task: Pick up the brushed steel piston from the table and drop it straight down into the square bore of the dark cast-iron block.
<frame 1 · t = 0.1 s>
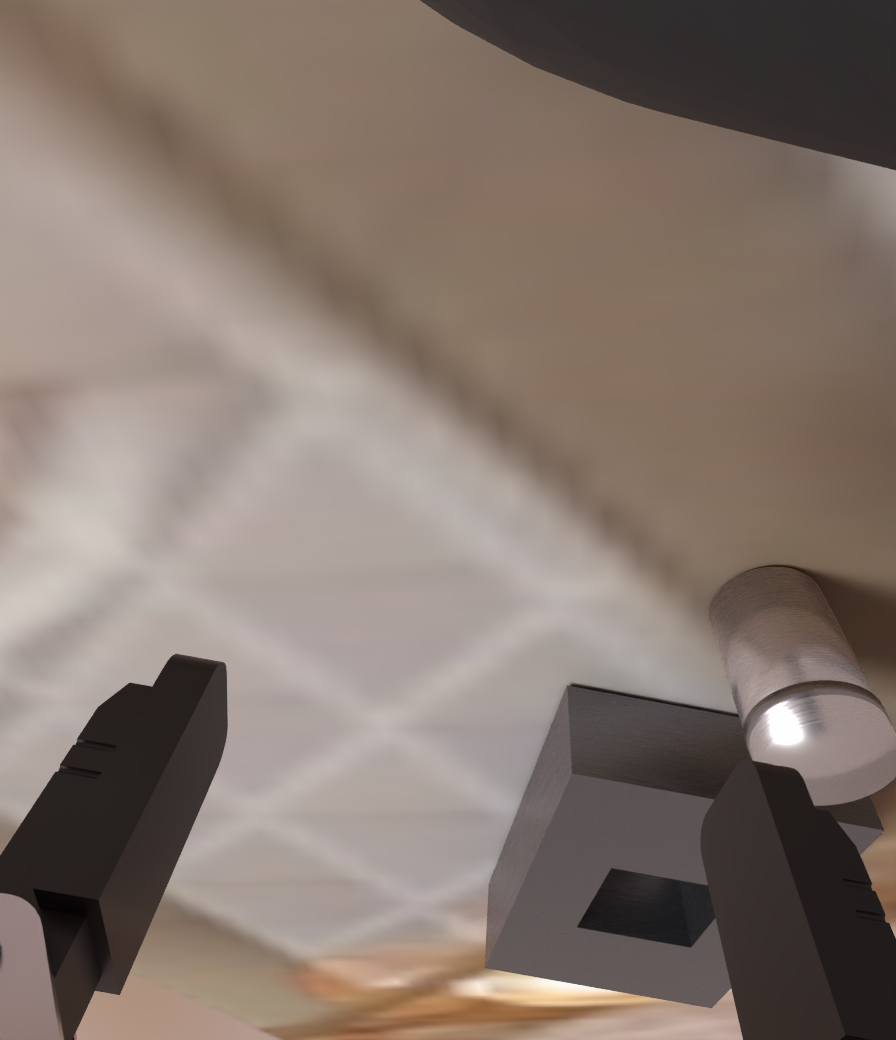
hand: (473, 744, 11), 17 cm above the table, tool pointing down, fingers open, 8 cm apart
piston: (765, 608, 31), on the table
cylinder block: (640, 821, 40), on the table
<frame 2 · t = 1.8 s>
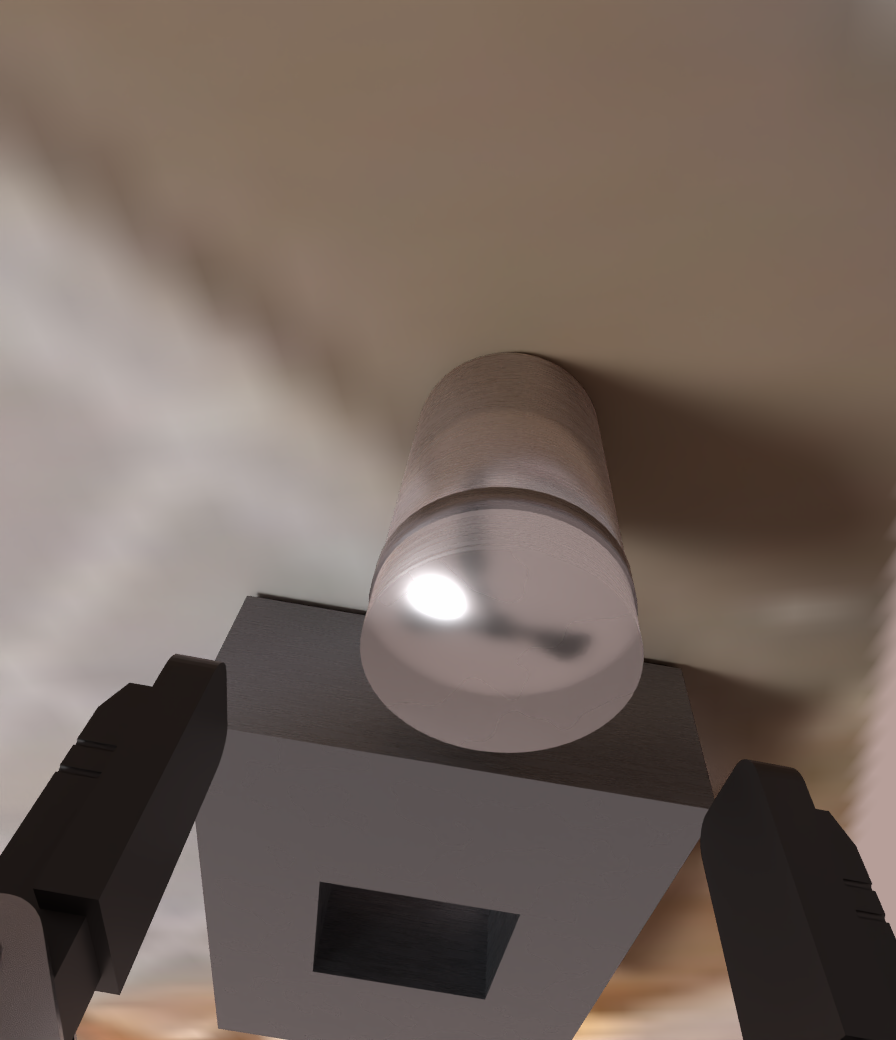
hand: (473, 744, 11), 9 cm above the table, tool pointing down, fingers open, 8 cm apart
piston: (507, 439, 18), on the table
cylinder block: (425, 812, 28), on the table
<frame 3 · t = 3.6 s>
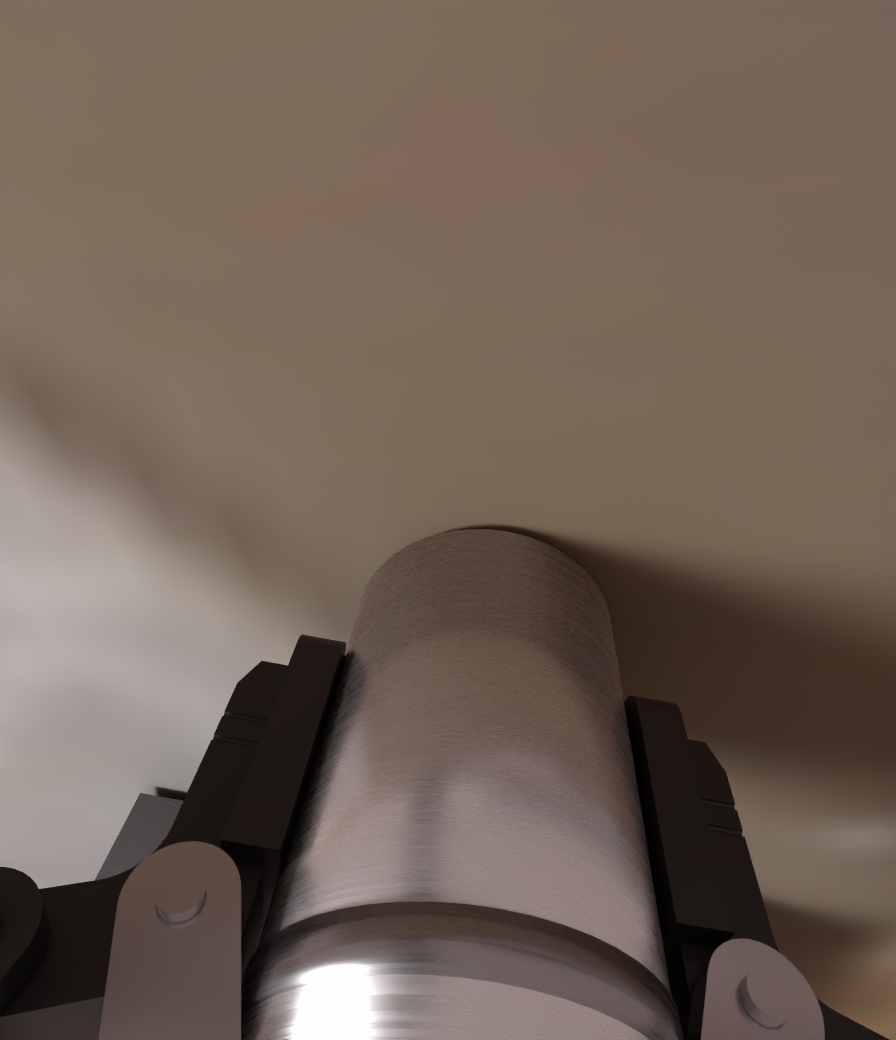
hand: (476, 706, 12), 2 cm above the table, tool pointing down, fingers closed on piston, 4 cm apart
piston: (482, 633, 13), on the table, touching gripper
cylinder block: (382, 1019, 22), on the table
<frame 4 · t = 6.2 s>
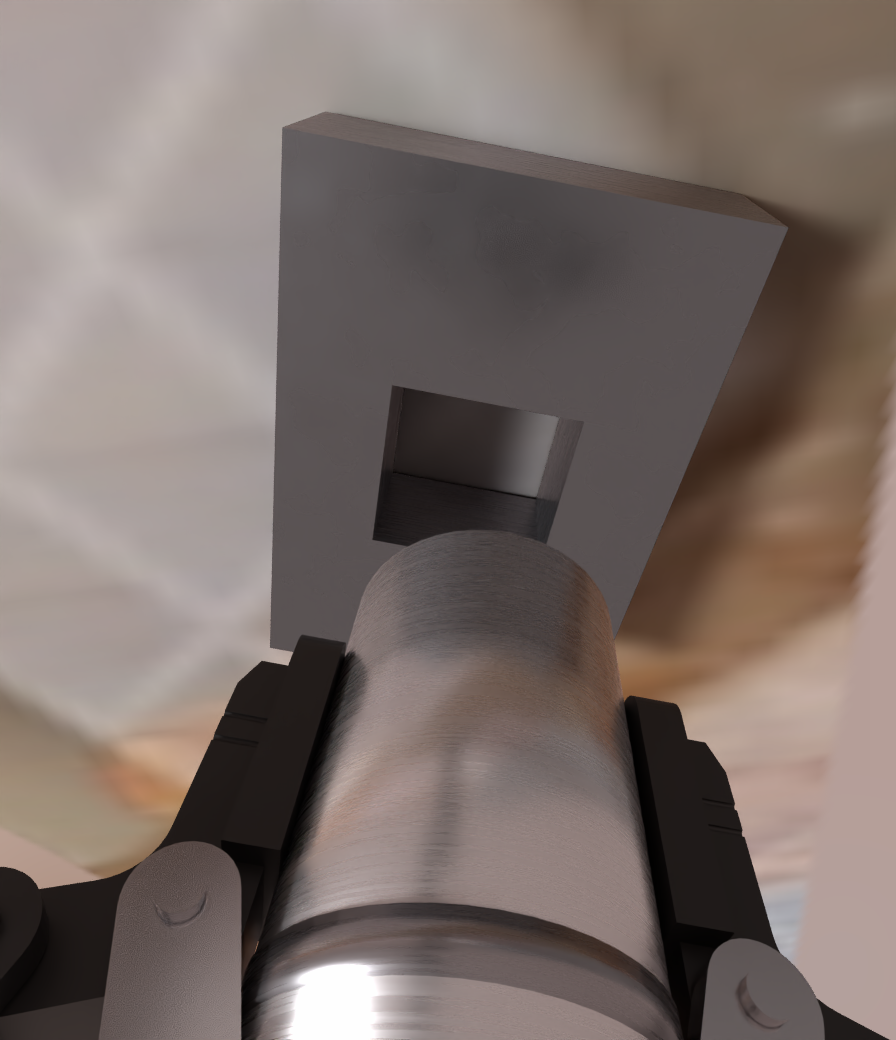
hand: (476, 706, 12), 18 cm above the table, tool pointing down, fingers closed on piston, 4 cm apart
piston: (482, 634, 13), point 16 cm above the table, touching gripper
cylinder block: (478, 421, 29), on the table
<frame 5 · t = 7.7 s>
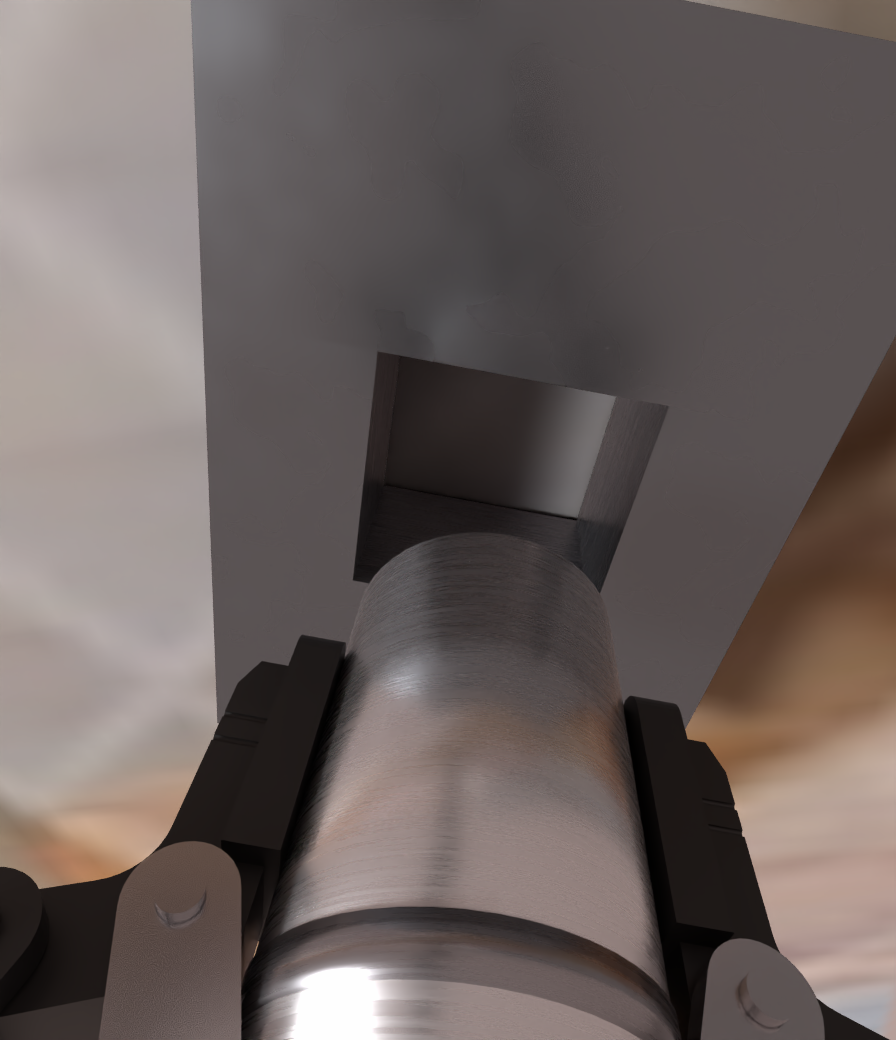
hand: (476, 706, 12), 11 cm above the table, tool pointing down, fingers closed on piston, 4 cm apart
piston: (482, 636, 13), point 10 cm above the table, touching gripper
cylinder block: (500, 414, 21), on the table
when the fingers open (8 cm above the table, at t = 9.1 s): piston drops 7 cm, resting in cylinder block.
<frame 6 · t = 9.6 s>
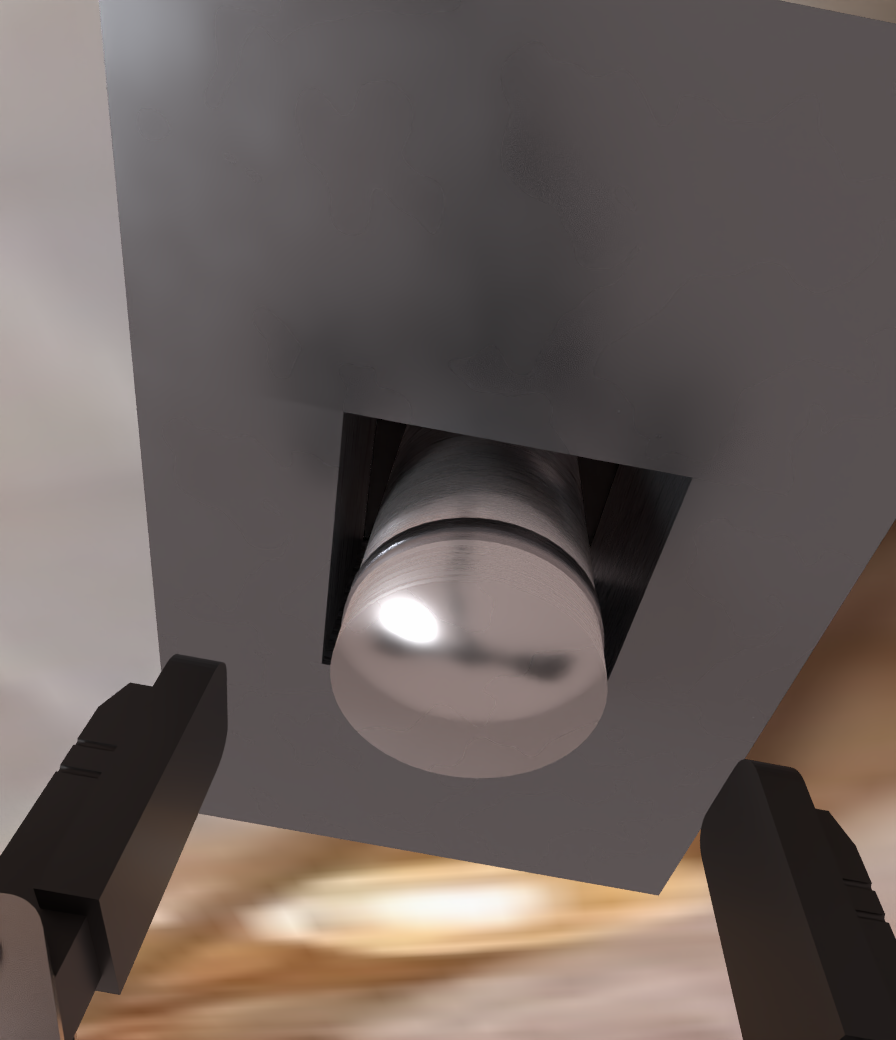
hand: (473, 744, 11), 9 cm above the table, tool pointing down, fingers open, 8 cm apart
piston: (487, 464, 19), resting in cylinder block
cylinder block: (493, 465, 18), on the table
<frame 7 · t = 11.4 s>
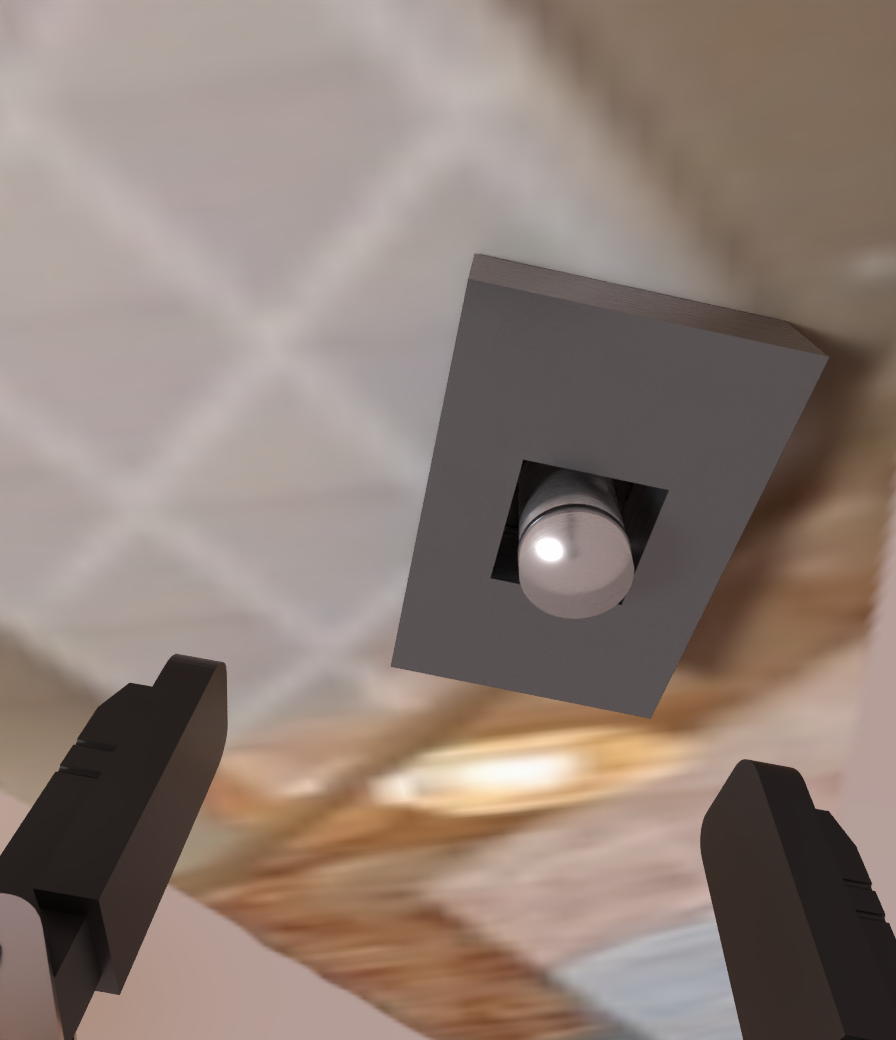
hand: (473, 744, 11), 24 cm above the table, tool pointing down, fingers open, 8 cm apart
piston: (564, 483, 36), resting in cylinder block
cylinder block: (567, 484, 36), on the table
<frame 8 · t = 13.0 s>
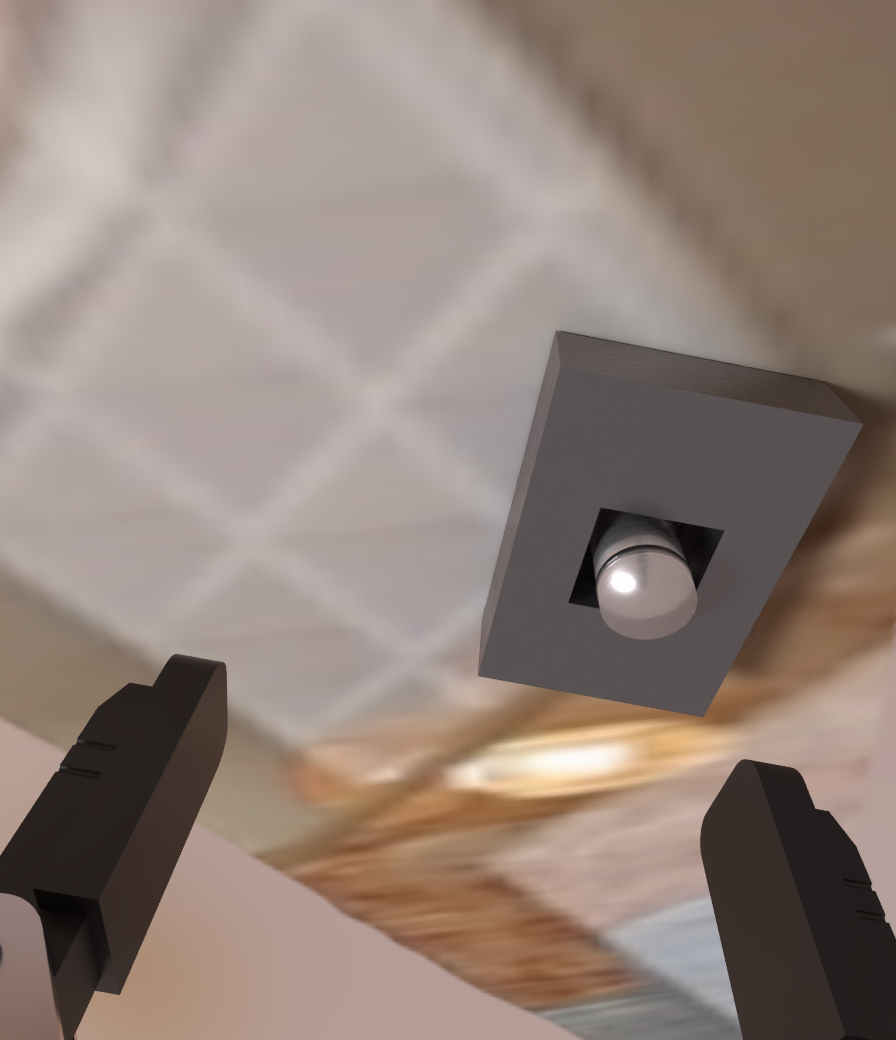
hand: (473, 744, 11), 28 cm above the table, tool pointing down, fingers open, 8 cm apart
piston: (627, 516, 41), resting in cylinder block
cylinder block: (630, 517, 41), on the table
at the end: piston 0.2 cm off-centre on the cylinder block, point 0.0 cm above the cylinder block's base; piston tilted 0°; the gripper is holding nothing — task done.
